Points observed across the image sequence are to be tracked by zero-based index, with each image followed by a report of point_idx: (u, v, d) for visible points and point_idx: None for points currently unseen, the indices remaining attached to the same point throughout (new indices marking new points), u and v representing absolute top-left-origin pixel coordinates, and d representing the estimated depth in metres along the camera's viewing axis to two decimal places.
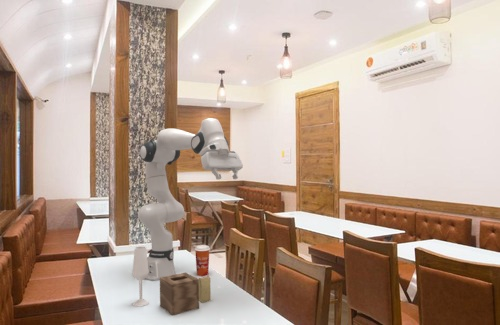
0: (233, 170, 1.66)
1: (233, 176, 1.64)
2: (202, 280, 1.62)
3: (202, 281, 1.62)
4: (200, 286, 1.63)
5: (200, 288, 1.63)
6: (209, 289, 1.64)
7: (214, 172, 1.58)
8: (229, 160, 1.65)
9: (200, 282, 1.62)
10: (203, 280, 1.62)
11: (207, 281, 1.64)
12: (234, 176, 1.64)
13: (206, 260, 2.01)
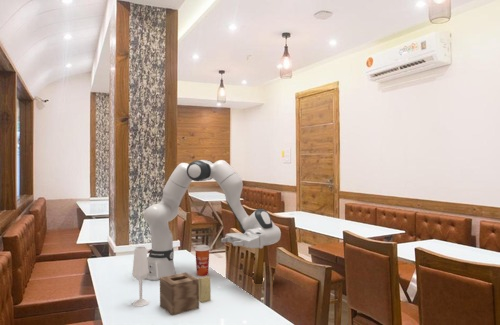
0: (229, 238, 1.78)
1: (225, 240, 1.75)
2: (202, 280, 1.62)
3: (202, 281, 1.62)
4: (200, 286, 1.63)
5: (200, 288, 1.63)
6: (209, 289, 1.64)
7: (240, 243, 1.68)
8: None
9: (200, 282, 1.62)
10: (203, 280, 1.62)
11: (207, 281, 1.64)
12: (224, 241, 1.75)
13: (206, 260, 2.01)
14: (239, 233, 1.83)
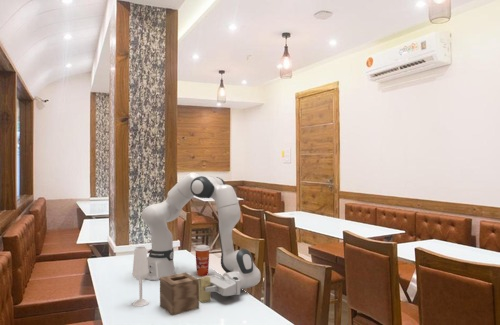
0: None
1: None
2: (202, 280, 1.62)
3: (202, 281, 1.62)
4: (200, 286, 1.63)
5: (200, 288, 1.63)
6: None
7: (212, 289, 1.63)
8: None
9: (200, 282, 1.62)
10: (203, 280, 1.62)
11: (207, 281, 1.64)
12: None
13: (206, 260, 2.01)
14: (216, 276, 1.75)
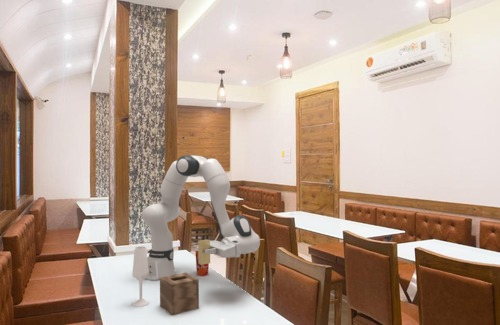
0: None
1: None
2: (202, 242, 1.62)
3: (201, 243, 1.62)
4: (200, 248, 1.63)
5: (200, 250, 1.63)
6: None
7: (212, 251, 1.63)
8: None
9: (200, 244, 1.62)
10: (203, 242, 1.63)
11: (206, 244, 1.64)
12: None
13: None
14: (216, 241, 1.75)
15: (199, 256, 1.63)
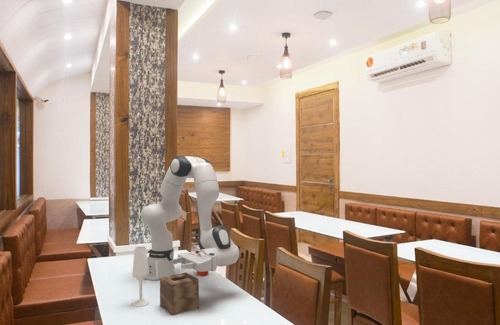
0: (181, 259, 1.63)
1: (175, 261, 1.60)
2: None
3: None
4: None
5: None
6: None
7: (189, 266, 1.54)
8: None
9: None
10: None
11: None
12: (175, 262, 1.60)
13: None
14: (193, 253, 1.68)
15: None
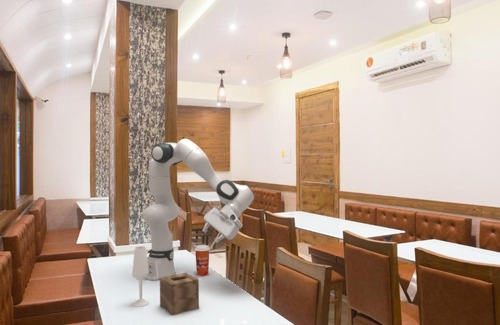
0: (208, 224, 1.80)
1: (205, 230, 1.79)
2: None
3: None
4: None
5: None
6: None
7: (221, 238, 1.72)
8: None
9: None
10: None
11: None
12: (206, 231, 1.79)
13: (206, 260, 2.01)
14: (215, 211, 1.82)
15: None
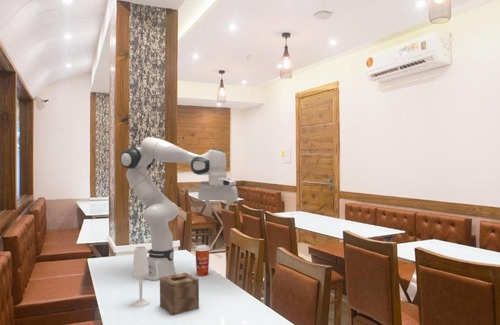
0: (208, 200, 1.87)
1: (210, 206, 1.87)
2: None
3: None
4: None
5: None
6: None
7: (229, 203, 1.84)
8: None
9: None
10: None
11: None
12: (210, 207, 1.88)
13: (206, 260, 2.01)
14: (204, 187, 1.86)
15: None
